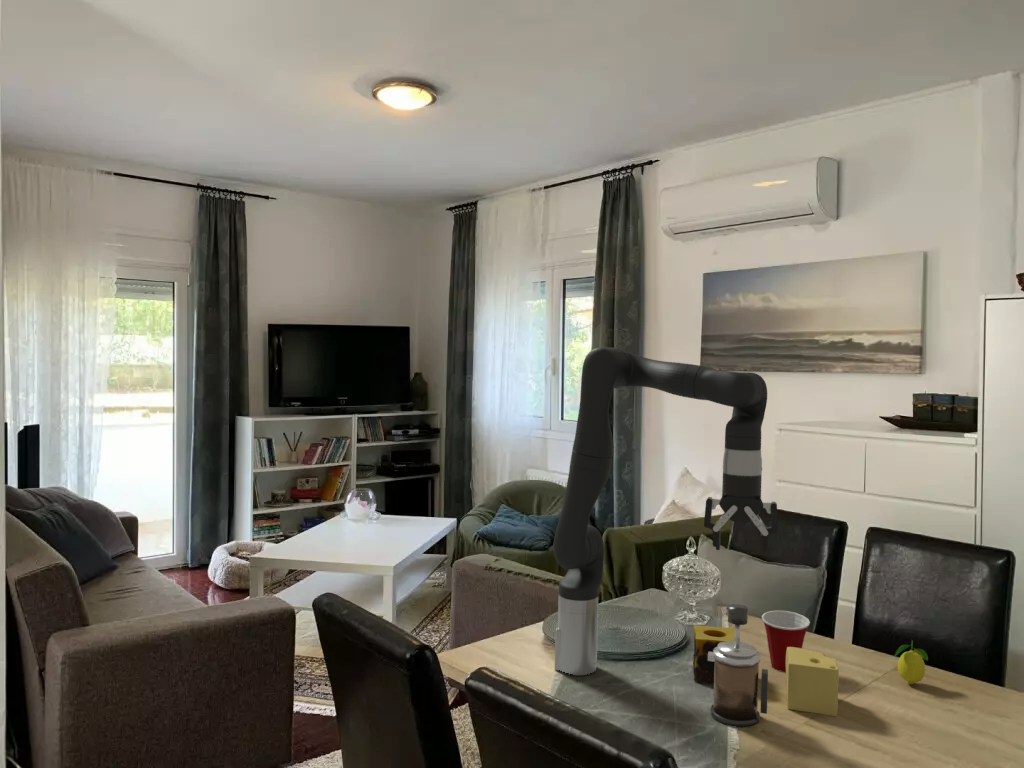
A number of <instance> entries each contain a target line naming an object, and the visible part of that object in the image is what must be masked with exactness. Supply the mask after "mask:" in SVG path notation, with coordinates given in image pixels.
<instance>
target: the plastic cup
mask: <svg viewBox="0 0 1024 768" xmlns="http://www.w3.org/2000/svg"><path fill="white" fill-rule="evenodd" d="M761 619H762V622H763V623H764V627H765V632H766V638H767V639H766V640H767V647H768V648H767V649H768V653H769V660H770V664H771V667H772V669H774V670H777V671H780V672H784V673H786V651H787V647H796V648H802V649H803V645H804V641H805V636H806V632H807V629H808V627H809V626H810V624H811V621H810V620H809V618H808V617H806V616H805V615H802V614H799V613H798V612H794V611H788V610H770V611H767V612H764V613H763V614H762V615H761Z"/></svg>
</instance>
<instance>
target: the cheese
mask: <svg viewBox="0 0 1024 768" xmlns="http://www.w3.org/2000/svg"><path fill="white" fill-rule="evenodd" d="M785 673H786V674H785V675H786V681H787V682H786V684H787V688H786V689H787V690H786V691H787V692H786V697H787V698H786V702H787V704H786V705H787V707H786V709H788V710H792V711H798V712H805V713H813V714H820V715H826V716H833V717H838V710H839V709H838V706H839V676H840V674H839V666H838V662H837V659H836V658H835V657H834V658H832V657H829V656H826V655H825V654H824V653H823V652H820V651H817V650H816V651H815V650H812V649H811V650H810V649H805V648H803V647H802V648H796V647H787V651H786V672H785Z"/></svg>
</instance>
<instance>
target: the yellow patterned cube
mask: <svg viewBox="0 0 1024 768" xmlns="http://www.w3.org/2000/svg"><path fill="white" fill-rule="evenodd" d="M725 641H735V628H733V627H731V628H730V627H723V626H722V627H719V626H707V625H705V626H704V625H697V624H696V625H694V626H693V643H694V644H693V655H692V656H693V657H692V659H693V660H692V661H693V662H692V664H693V665H692V666H693V667H692V669H693V676H694V677H693V681H694V682H696V683H700V684H707V685H708V684H711V685H714V664H715V662H713V661H708V652H713V650H714V648H715V647H717V646H718V644H719V643H721V642H725Z"/></svg>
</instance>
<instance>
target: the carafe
mask: <svg viewBox="0 0 1024 768" xmlns="http://www.w3.org/2000/svg"><path fill="white" fill-rule="evenodd" d="M761 657H762V655H761V654H760V652H759V651H757V650H756V655H755V656H753V657H748V658H738V657H731V656H728V655H725V654H722V653H720V652H719V651H718V649H717V647H715V648H714V650H713V652H708V661H713V662H715V664H714V684H713V703H712V705H711V707H710V716H711V718H713V720H715V721H716V722H718V723H720V724H721V725H722V724H723V725H726V726H730V727H733V728H734V727H735V728H751V727H754V726H757V725H759V723H760V720H761V714H765V715H767V714H768V711H767V710H768V690H769V689H768V687H769V686H768V684H769V683H768V682H769V680H768V679H769V669H766V668H765V669H764V668H761V676H760V677H761V680H760V681H761V683H760V712H759V710H758V707H759V705H758V704H759V702H758V701H759V700H758V699H759V672H760V671H759V670H760V667H759V665H760V663H761Z"/></svg>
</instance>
